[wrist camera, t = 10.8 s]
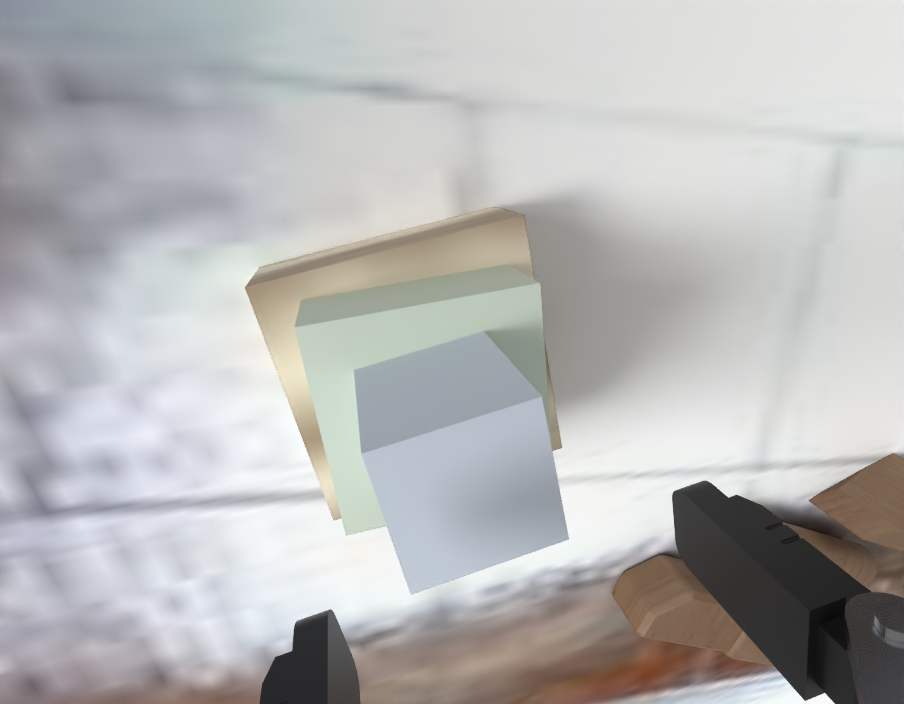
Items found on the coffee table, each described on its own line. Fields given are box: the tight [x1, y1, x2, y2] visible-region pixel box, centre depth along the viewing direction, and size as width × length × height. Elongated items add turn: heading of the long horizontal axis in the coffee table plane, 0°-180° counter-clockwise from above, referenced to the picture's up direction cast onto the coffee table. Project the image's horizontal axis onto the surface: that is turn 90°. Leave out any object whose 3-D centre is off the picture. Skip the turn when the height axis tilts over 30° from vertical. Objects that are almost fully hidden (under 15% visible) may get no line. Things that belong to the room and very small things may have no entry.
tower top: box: [294, 264, 552, 536], centre depth 22 cm, size 9×9×4 cm
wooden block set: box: [612, 453, 904, 666], centre depth 36 cm, size 17×6×18 cm
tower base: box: [245, 207, 562, 520], centre depth 26 cm, size 12×12×5 cm
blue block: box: [354, 331, 569, 595], centre depth 18 cm, size 5×5×6 cm
